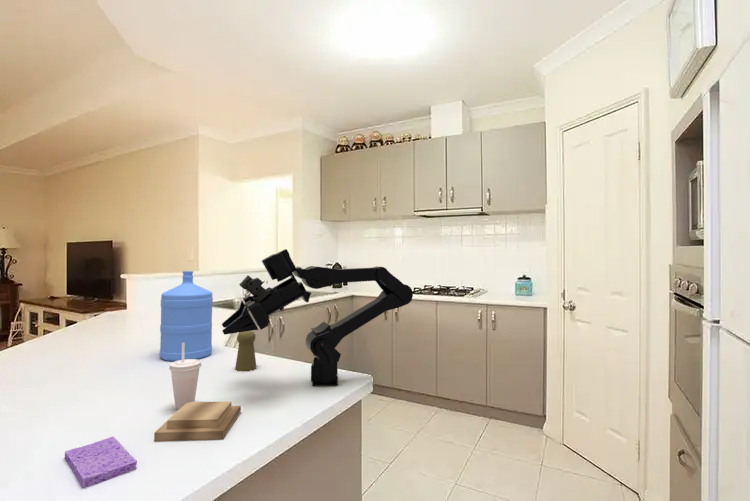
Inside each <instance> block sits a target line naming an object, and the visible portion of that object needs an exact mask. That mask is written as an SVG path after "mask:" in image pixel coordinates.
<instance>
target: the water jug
mask: <svg viewBox="0 0 750 501" xmlns="http://www.w3.org/2000/svg"><path fill="white" fill-rule="evenodd" d="M193 273H194V271H191V270H188V271H187V270H184V271H182V277H181V278H182V282H181V284H179V285H177V286H175V287H172V288H170V289H168V290H166V291H164V292H161V293H162V294H161V298H160V325H159V326H160V327H159V330H160V331H159V332H160V343H159V344H160V349H159V358H160V359H162V360H164V361H168V362H169V361H170V362H175V361H179V360H182V343H185V356H184V360H185V359H197V360H201V359H203V358H206V357H208V356H210V355H211V353H213V352H212V351H213V345H212V344H213V343H212V342H213V341H212V337H213V335H212V334H213V332H212V330H213V321H212V320H213V318H212V317H213V302H214V298H213V292H212V291H211V290H208V289H206V288H204V287H202V286H199V285H197V284H195V283H194V281H193V280H194V275H193Z"/></svg>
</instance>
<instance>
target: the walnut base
mask: <svg viewBox="0 0 750 501" xmlns="http://www.w3.org/2000/svg"><path fill="white" fill-rule="evenodd" d="M232 404H233V402H232V401H230V400H229V401H195V402H187V403H185V404H184V405H183V406H182V407H181V408H180V409H179V410H176V411H175V413H174V414H172V416H170V417H169V418H168V419H167V420H166V421H165V422H164V423H163V424H162V425H161V426H160V427H159V428H158V429H157V430H156V431H154V432H153V435H154V438H153V441H154V442H171V441H172V442H173V441H175V442H176V441H205V440H206V441H207V440H208V441H209V440H211V441H212V440H224V439H225V437H226V435H227V434H228V433H229V431H230V429H231V428H232V427H233V425H234V424H235V422H236V421H237V419H238V417H239V416H240V414H242V412H241V411H242V410H241V409H242V407H241V405H232Z"/></svg>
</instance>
